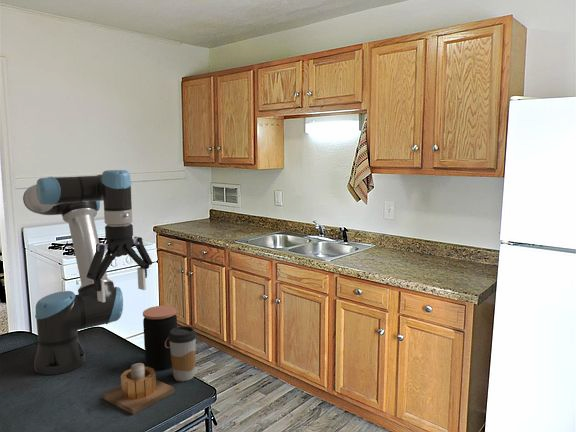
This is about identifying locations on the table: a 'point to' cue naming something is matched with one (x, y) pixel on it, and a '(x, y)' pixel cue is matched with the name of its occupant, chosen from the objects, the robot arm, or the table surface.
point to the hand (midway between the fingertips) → (122, 295)
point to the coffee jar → (158, 335)
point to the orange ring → (138, 384)
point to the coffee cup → (183, 352)
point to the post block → (142, 403)
